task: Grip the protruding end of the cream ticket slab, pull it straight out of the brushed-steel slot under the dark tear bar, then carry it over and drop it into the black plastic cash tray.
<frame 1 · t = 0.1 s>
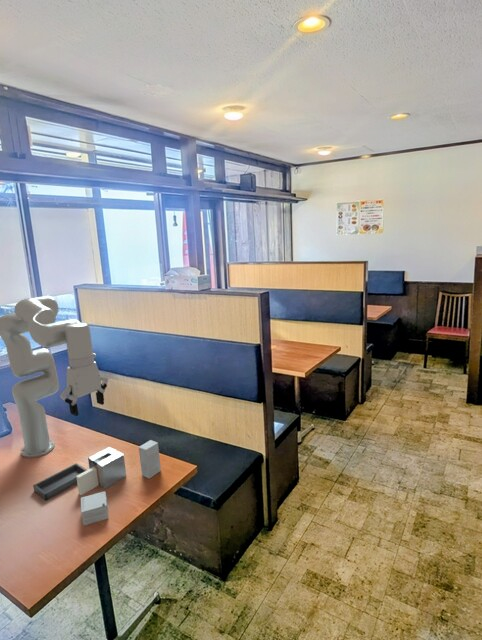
hand: (88, 409, 132), 31 cm above the table, fingers open, 9 cm apart
ticket dispenser: (108, 477, 145), on the table
ticket: (96, 484, 142), on the table
small box: (95, 515, 127), on the table
skincare box: (151, 473, 147), on the table
stub tray: (62, 483, 143), on the table
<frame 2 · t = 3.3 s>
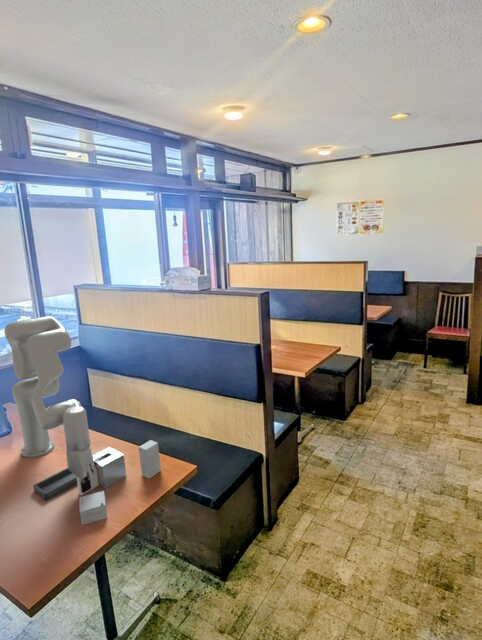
hand: (85, 489, 138), 1 cm above the table, fingers closed on ticket, 1 cm apart
ticket: (96, 484, 142), on the table, touching gripper
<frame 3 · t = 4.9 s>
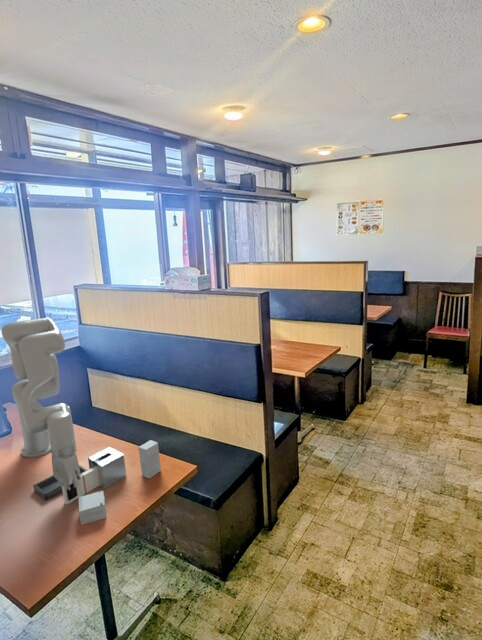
hand: (71, 496, 134), 1 cm above the table, fingers closed on ticket, 1 cm apart
ticket: (83, 493, 137), on the table, touching gripper
everything else where it was.
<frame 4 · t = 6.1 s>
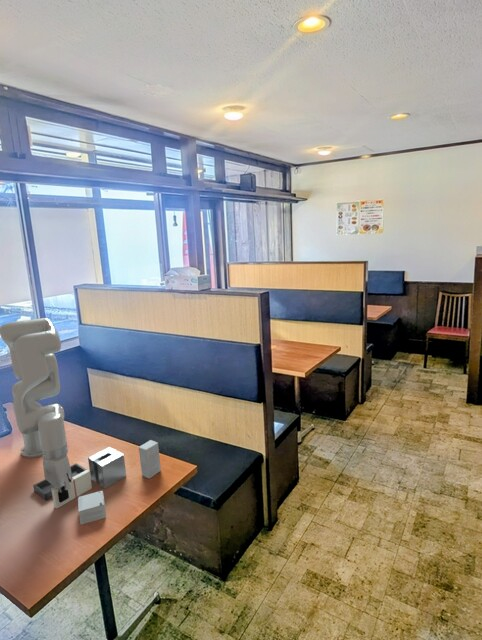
hand: (62, 498, 132), 2 cm above the table, fingers closed on ticket, 1 cm apart
ticket: (73, 497, 135), on the table, touching gripper
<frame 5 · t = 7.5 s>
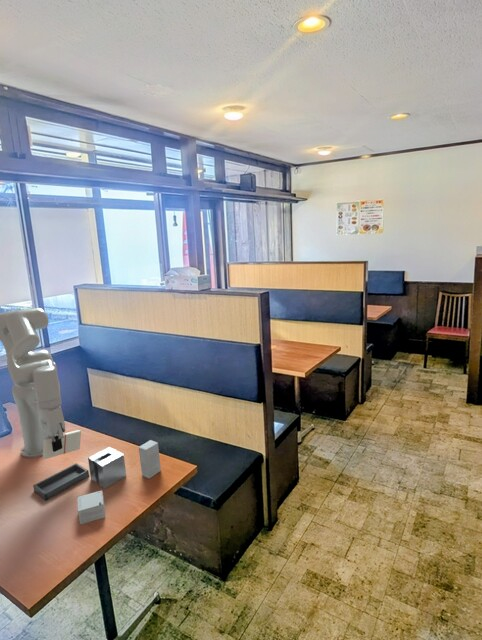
hand: (56, 448, 139), 14 cm above the table, fingers closed on ticket, 1 cm apart
ticket: (61, 453, 141), point 12 cm above the table, tilted 11°, touching gripper
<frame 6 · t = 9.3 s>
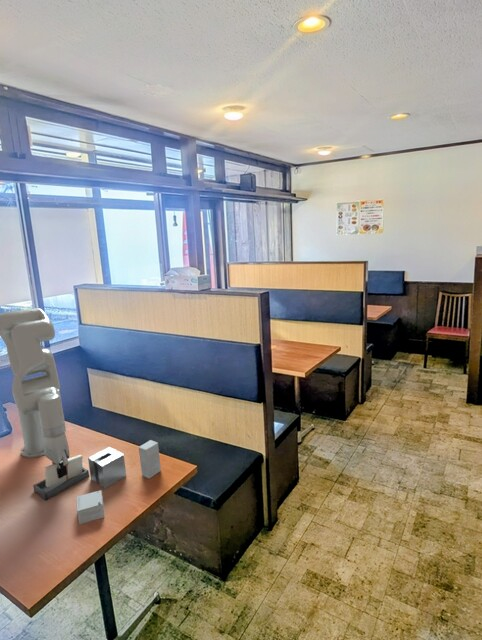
hand: (61, 474, 142), 4 cm above the table, fingers closed on ticket, 1 cm apart
ticket: (64, 479, 143), point 2 cm above the table, tilted 8°, touching gripper, stub tray
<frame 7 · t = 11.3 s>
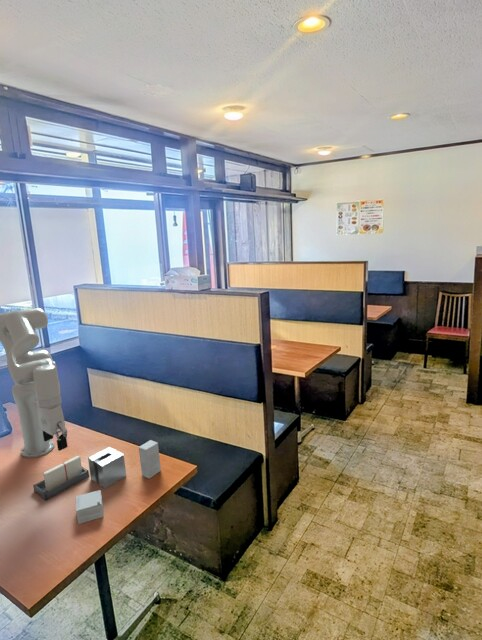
hand: (55, 444, 140), 16 cm above the table, fingers open, 9 cm apart
ticket: (65, 481, 143), point 1 cm above the table, touching stub tray
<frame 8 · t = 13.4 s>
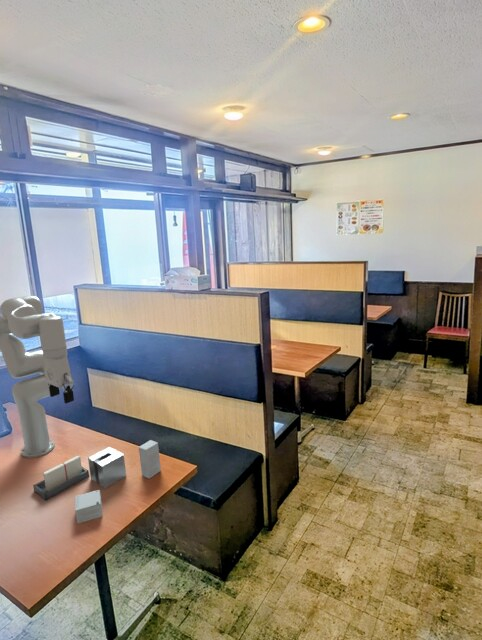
hand: (62, 398, 138), 32 cm above the table, fingers open, 9 cm apart
at the end: ticket inside the target area on the stub tray (1.0 cm from its centre), point 0.6 cm above the stub tray's base; ticket touching stub tray; the gripper is holding nothing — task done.
